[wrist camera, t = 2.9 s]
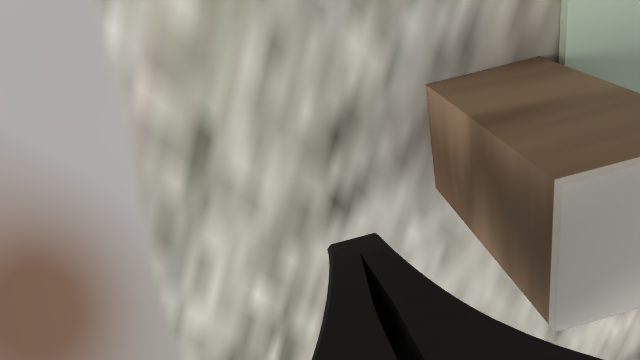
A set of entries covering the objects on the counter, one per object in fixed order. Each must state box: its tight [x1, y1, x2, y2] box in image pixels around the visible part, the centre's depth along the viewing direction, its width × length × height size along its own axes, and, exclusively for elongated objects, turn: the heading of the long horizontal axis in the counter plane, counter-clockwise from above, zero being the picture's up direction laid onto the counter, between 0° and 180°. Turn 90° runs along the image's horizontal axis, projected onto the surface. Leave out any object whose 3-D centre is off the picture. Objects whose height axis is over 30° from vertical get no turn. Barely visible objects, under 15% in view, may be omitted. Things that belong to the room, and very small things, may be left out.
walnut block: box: [426, 56, 640, 332], centre depth 15 cm, size 4×4×8 cm
